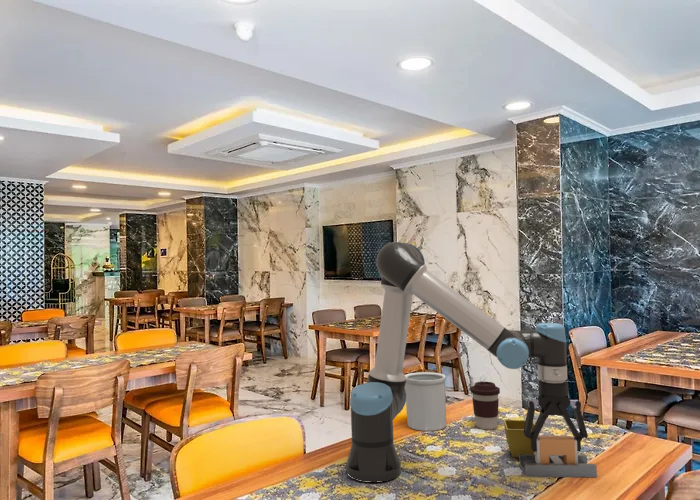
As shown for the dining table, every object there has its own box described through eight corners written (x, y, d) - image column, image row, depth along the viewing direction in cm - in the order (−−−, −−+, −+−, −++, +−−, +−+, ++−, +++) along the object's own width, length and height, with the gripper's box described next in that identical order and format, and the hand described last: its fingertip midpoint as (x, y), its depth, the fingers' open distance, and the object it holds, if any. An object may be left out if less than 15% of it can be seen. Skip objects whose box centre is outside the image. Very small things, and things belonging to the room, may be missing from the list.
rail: (526, 476, 132) (526, 465, 132) (519, 464, 140) (518, 453, 140) (597, 477, 130) (596, 465, 130) (585, 465, 138) (585, 454, 138)
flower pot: (539, 461, 141) (538, 429, 142) (507, 460, 143) (506, 428, 144) (534, 450, 150) (533, 420, 150) (504, 449, 152) (503, 419, 152)
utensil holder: (401, 420, 183) (400, 372, 184) (440, 417, 185) (439, 370, 186) (410, 433, 169) (409, 381, 169) (453, 430, 170) (451, 379, 171)
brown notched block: (541, 466, 134) (540, 439, 134) (537, 461, 137) (536, 435, 137) (575, 466, 133) (574, 440, 133) (571, 461, 136) (570, 436, 136)
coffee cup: (504, 430, 168) (503, 386, 169) (475, 431, 168) (474, 387, 169) (496, 421, 178) (495, 379, 179) (469, 422, 178) (467, 380, 179)
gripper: (515, 383, 133) (518, 468, 132) (599, 383, 131) (603, 469, 130) (509, 377, 140) (512, 457, 140) (588, 376, 138) (592, 458, 138)
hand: (556, 463), depth 135 cm, fingers closed on brown notched block, 9 cm apart
